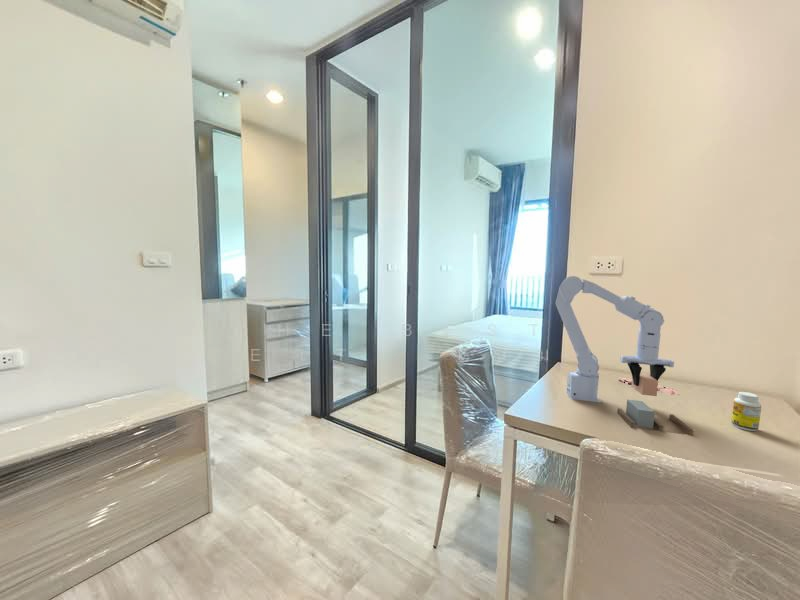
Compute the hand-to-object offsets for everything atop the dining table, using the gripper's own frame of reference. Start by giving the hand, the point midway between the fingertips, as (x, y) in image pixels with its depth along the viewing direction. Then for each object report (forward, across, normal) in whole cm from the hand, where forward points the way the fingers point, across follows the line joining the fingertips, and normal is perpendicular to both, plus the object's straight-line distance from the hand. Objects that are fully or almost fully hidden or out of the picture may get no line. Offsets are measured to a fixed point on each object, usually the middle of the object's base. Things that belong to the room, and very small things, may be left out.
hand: (643, 385), depth 108 cm
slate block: (+7, -6, -13) cm, 16 cm away
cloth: (+9, +10, +26) cm, 29 cm away
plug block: (+2, 0, 0) cm, 2 cm away
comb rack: (+8, -2, -13) cm, 15 cm away
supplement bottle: (+8, +24, -6) cm, 26 cm away
